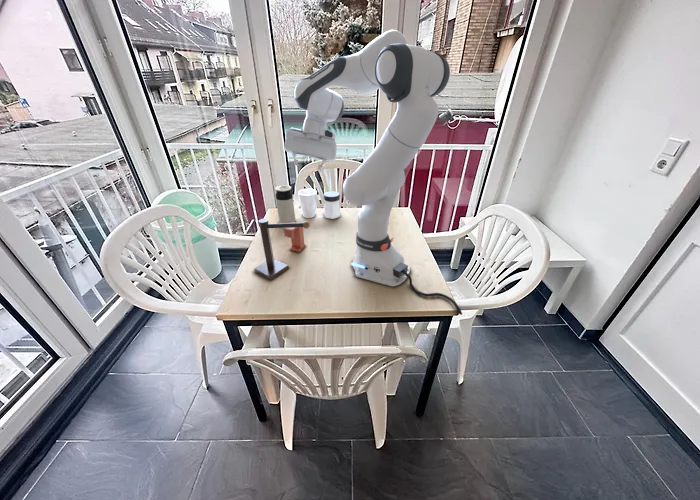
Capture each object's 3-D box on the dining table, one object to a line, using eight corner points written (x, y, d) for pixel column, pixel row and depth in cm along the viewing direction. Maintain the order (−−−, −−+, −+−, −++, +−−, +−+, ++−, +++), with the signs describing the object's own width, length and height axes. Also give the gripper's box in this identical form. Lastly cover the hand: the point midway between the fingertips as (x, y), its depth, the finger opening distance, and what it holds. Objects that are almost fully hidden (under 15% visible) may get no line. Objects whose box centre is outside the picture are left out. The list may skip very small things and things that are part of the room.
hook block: (296, 244, 126) (294, 220, 119) (305, 246, 124) (303, 221, 118) (286, 253, 119) (282, 228, 113) (295, 256, 118) (292, 230, 111)
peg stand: (251, 281, 104) (240, 230, 92) (257, 261, 114) (248, 213, 103) (312, 278, 106) (308, 227, 94) (313, 258, 116) (309, 211, 105)
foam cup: (317, 219, 147) (316, 195, 140) (299, 219, 146) (297, 195, 139) (318, 211, 155) (317, 188, 148) (301, 211, 154) (299, 188, 147)
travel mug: (297, 218, 147) (293, 185, 137) (293, 225, 140) (289, 191, 131) (282, 217, 148) (277, 184, 138) (277, 224, 141) (272, 190, 131)
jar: (334, 210, 156) (334, 189, 149) (343, 215, 150) (343, 194, 144) (320, 215, 151) (319, 193, 144) (329, 220, 146) (329, 198, 139)
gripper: (286, 123, 107) (279, 159, 107) (339, 135, 109) (333, 170, 109) (288, 129, 113) (281, 163, 113) (338, 141, 115) (332, 174, 116)
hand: (307, 167), depth 111 cm, fingers open, 8 cm apart
